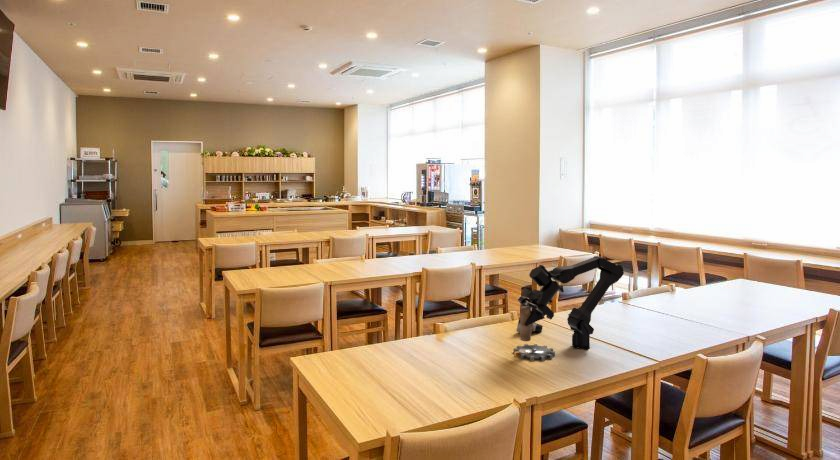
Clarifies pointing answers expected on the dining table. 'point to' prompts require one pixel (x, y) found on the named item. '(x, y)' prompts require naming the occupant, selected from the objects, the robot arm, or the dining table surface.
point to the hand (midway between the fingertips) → (522, 323)
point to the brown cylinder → (524, 330)
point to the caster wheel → (533, 327)
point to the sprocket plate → (534, 352)
